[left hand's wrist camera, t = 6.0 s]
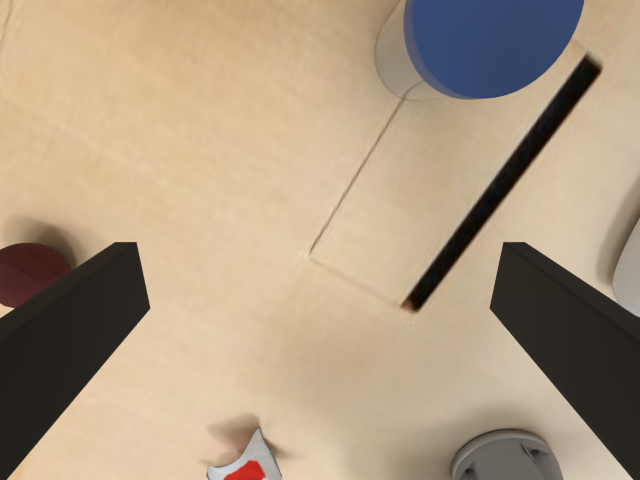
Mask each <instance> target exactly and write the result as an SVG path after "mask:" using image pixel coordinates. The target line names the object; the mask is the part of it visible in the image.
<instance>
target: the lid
mask: <svg viewBox="0 0 640 480" xmlns="http://www.w3.org/2000/svg"><path fill="white" fill-rule="evenodd" d="M583 5H584V0H406V4H405V10H404V26H403V30H404V38H405V44H406V48H407V52H408V54H409V57H410V60H411V62H412V64H413V66H414V68H415V69H416V71H417V72H418V74H419V75H420V76H421V78H422V79H423V80H424V81H425V82H426V83H427V84H428V85H430V86H431V87H432V88H434V89H435V90H436V91H438V92H440V93H442V94H444V95H447V96H450V97H453V98H458V99H469V100H471V99H485V98H495V97H500V96H504V95H507V94H510V93H513V92H516V91H518V90H520V89H522V88H524V87H526V86H527V85H529V84H530V83H532V82H533V81H535V80H536V79H537V78H539V77H540V76H541V75H542V74H543V73H545V72H546V71H547V70H548V69H549V68H550V67H551V66H552V65H553V63H554V62H555V61H556V60H557V59H558V57H559V56H560V55H561V54H562V52H563V51H564V49H565V47H566V46H567V44H568V43H569V41H570V39H571V37H572V35H573V33H574V31H575V29H576V26H577V24H578V21H579V19H580V16H581V12H582V8H583Z"/></svg>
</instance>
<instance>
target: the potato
mask: <svg viewBox="0 0 640 480" xmlns="http://www.w3.org/2000/svg"><path fill="white" fill-rule="evenodd" d="M71 271H72V270H71V268H70V266H69V265H68V263H67V262H66V260H65V258H64V257H63V256H61V255H60V254H59V253H58V252H57V251H55V250H54V249H52V248H49V247H47V246H45V245H41V244H36V243H20V244H14V245H11V246H8V247H5V248H3V249H0V303H1V304H2V305H4V306H7V307H12V308H17V307H18V306H20V305H21V304H23V303H24V302H26V301H27V300H29V299H30V298H32V297H33V296H35V295H36V294H38V293H39V292H41V291H42V290H44V289H45V288H47V287H48V286H50V285H51V284H53V283H54V282H56V281H57V280H59V279H60V278H62V277H63V276H65V275H66V274H68V273H69V272H71Z"/></svg>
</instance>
